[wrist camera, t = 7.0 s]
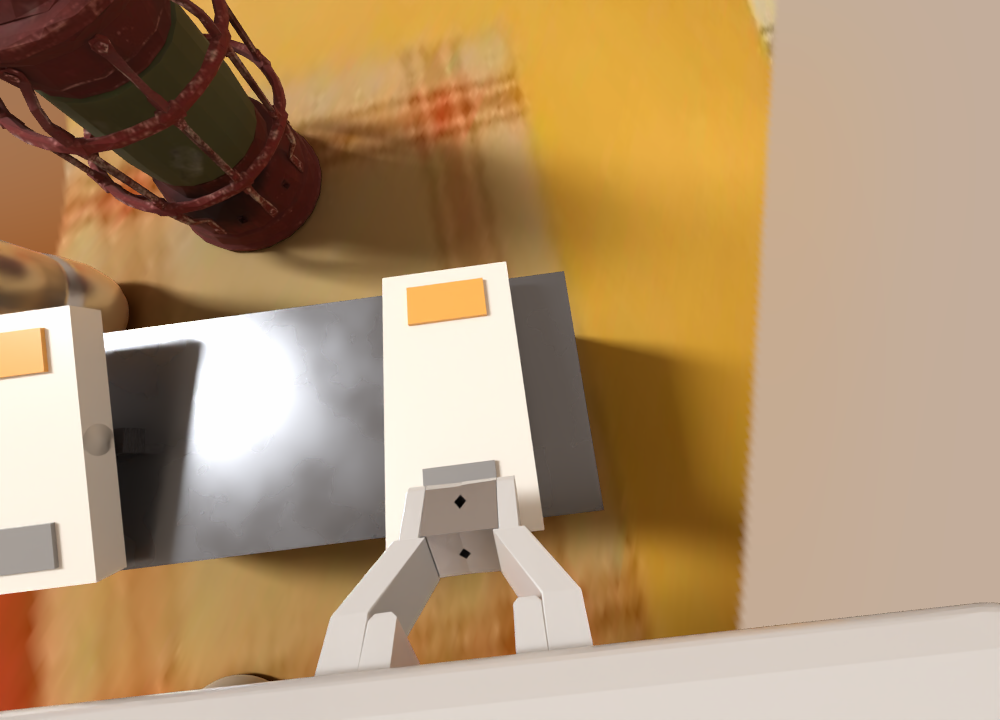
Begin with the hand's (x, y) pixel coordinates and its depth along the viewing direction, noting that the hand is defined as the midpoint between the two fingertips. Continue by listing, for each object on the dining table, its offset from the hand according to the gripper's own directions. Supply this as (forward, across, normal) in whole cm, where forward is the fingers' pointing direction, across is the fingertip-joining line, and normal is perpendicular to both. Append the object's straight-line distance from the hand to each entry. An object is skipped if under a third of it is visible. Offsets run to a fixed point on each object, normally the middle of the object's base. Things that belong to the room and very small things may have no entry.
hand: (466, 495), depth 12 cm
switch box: (+13, +8, +8) cm, 18 cm away
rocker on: (+4, 0, 0) cm, 5 cm away
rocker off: (+4, +16, 0) cm, 17 cm away
